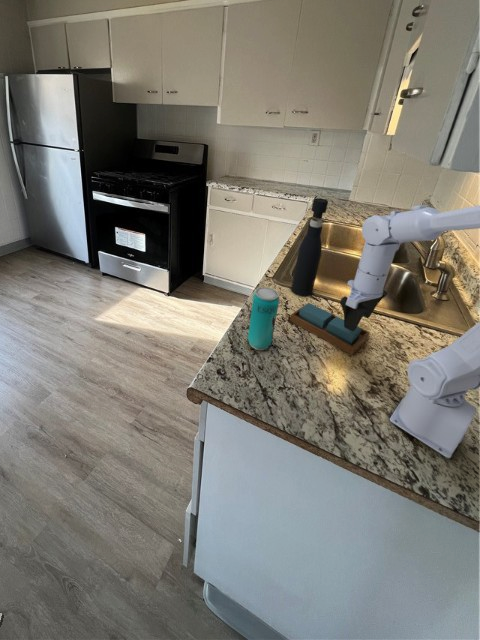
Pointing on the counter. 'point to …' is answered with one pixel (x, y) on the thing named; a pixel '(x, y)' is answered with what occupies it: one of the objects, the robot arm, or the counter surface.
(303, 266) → the black water bottle
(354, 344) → the back plate
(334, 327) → the loose pad
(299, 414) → the counter surface
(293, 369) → the counter surface
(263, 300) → the beverage can
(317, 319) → the mounted pad
